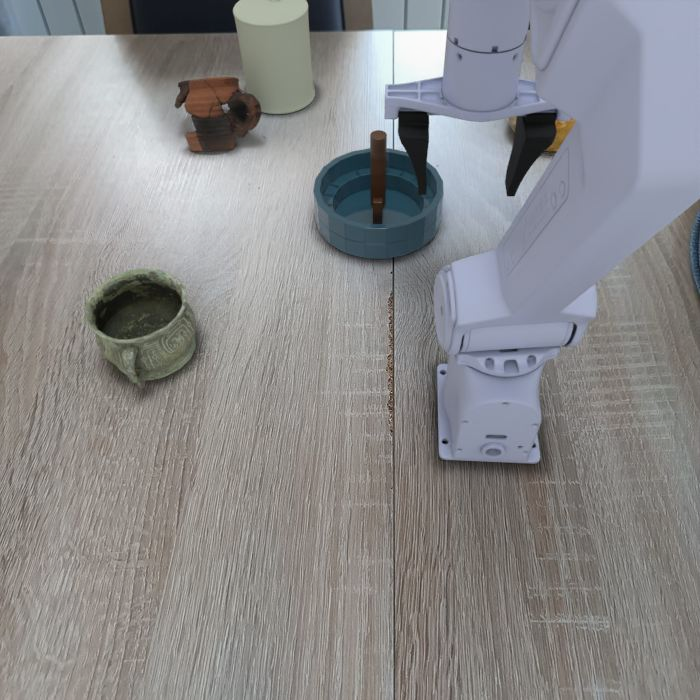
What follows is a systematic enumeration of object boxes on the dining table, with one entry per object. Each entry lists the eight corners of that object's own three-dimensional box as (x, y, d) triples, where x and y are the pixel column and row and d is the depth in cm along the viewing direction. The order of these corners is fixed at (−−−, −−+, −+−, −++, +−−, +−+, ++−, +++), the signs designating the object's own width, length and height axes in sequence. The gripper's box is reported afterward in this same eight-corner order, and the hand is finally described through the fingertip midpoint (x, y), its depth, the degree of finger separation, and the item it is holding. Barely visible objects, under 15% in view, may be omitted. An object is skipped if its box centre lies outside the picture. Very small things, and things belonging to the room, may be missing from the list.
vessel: (121, 302, 65) (100, 255, 60) (210, 300, 64) (197, 253, 60) (92, 403, 57) (65, 358, 52) (192, 401, 57) (176, 356, 52)
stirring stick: (384, 225, 70) (386, 143, 62) (369, 224, 70) (369, 143, 62) (385, 207, 72) (387, 125, 64) (371, 207, 72) (370, 125, 64)
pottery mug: (166, 154, 81) (154, 82, 78) (212, 147, 89) (203, 82, 86) (247, 150, 76) (237, 72, 73) (288, 143, 84) (281, 73, 81)
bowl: (441, 263, 67) (444, 230, 63) (310, 260, 68) (307, 226, 64) (438, 182, 75) (441, 148, 72) (322, 180, 76) (320, 147, 72)
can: (319, 79, 90) (313, -14, 81) (309, 115, 85) (302, 21, 75) (254, 77, 91) (240, -15, 82) (240, 113, 85) (223, 19, 76)
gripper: (580, 9, 49) (543, 162, 60) (387, 9, 50) (385, 160, 61) (596, 55, 45) (553, 212, 55) (384, 54, 46) (382, 209, 56)
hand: (465, 188), depth 58 cm, fingers open, 7 cm apart
